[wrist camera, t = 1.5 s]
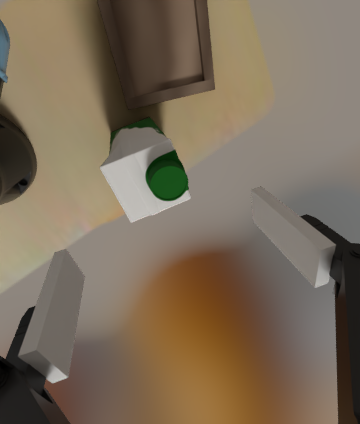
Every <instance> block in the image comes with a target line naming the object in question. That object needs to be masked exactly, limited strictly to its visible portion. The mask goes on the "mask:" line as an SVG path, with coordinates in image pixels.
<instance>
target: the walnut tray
mask: <svg viewBox="0 0 360 424" xmlns="http://www.w3.org/2000/svg"><path fill="white" fill-rule="evenodd" d="M97 1H98V5H99V8H100V12H101V15H102V19H103V23H104V26H105V30H106V33H107V37H108V40H109V44H110V47H111V51H112V54H113V58H114V61H115V65H116V68H117V72H118V75H119V79H120V82H121V86H122V89H123V93H124V96H125V100H126V103H127V107H128V110H129V109H134V108H138V107H142V106H146V105H151V104H155V103H159V102H164V101H168V100H172V99H176V98H181V97H185V96H189V95H193V94H198V93H202V92H206V91H211V90H215V84H214V73H213V62H212V51H211V40H210V29H209V18H208V7H207V0H97Z"/></svg>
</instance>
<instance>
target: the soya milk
mask: <svg viewBox="0 0 360 424" xmlns="http://www.w3.org/2000/svg"><path fill="white" fill-rule="evenodd" d="M100 169H101V171H102V173H103V174H104V176H105V178H106V180H107V181H108V183H109V185H110V187H111V189H112V190H113V192H114V194H115V196H116V197H117V199H118V201H119V203H120V204H121V206H122V208H123V210H124V211H125V213H126V215H127V217H128V219H129V220H130V222H131V223H132V222H134V221H136V220H139V219H141V218H144V217H146V216H149V215H154V214H157V213H159V212H160V211H163V210H165V209H168V208H170V207H172V206H175V205H177V204H179V203H182V202H184V201H186V200H189V199H190V198H191V196H190V193H189V190H188V189H189V188H188V178H187V175H186V173H185V170H184V167H183V165H182V163H181V162H180V160H179V159H178V156H177V153H176V150H175V149H174V147H173V144H172V142H171V139H169V138H166V136H165V135H164V134H163V132H162V131H161V130H160V129H159V127H158V126H157V125H156V124H155V123H154V122H153V120H152V119H151V118H150V117H149V118H146V119H144V120H141V121H138V122H136V123H133V124H130V125H128V126H125V127H123V128H120V129H118V130H116V131H114V132H112V133H111V138H110V152H109V157H108V158H107V159H106V160H105V162H104V163H103V164H102V165H101V167H100Z"/></svg>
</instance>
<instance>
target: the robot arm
mask: <svg viewBox="0 0 360 424" xmlns="http://www.w3.org/2000/svg"><path fill="white" fill-rule="evenodd" d="M9 48H10V38H9V34H8V31H7V29H6V27H5V26H4V24H3V22H2V21H1V20H0V97H1V93H2V88H3V83H4V82H6V83H7V79H8V77H7V75H6V68H7V61H8V55H9ZM36 170H37V162H36V157H35V153H34V151H33V148H32V146H31V144H30V143H29V141H28V139H27V138H26V137H25V135H24V134H23V133H22V132H21V131H20V130H19V129H18V128H17V127H16V126H15V125H14V124H13V123H11V122H10V121H9V120H7V119H6V118H4V117H3V116H1V115H0V205H1V204H4V203H8V202H10V201H13V200H15V199H16V198H18V197H19V196H21V195H22V194H23V193H24V192H25V191H26V190H27V189H28V188H29V186H30V185H31V184H32V182H33V180H34V178H35V175H36ZM251 198H252V216H253V222H254V223H255V224H256V225H257V226H258V227H259V228H260V229H261V230H262V231H263V232H264V233H265V234H266V236H267V237H268V238H269V239H270V240H271V241H272V242H273V243H274V244H275V245H276V246H277V247H278V249H279V250H280V251H281V252H282V253H283V254H284V255H285V256H286V257H287V258H288V259H289V260H290V262H291V263H292V264H293V265H294V266H295V267H296V268H297V269H298V270H299V271H300V272H301V273H302V275H304V277H305V278H306V279H307V280H308V281H309V282H310V283H311V284H312V285H313V286H314V287H315V288H316V287H319V286H321V285H324V284H327V283H328V281H329V276H331V277H332V278H333V279H334V280H335V285H334V290H333V294H335V317H336V318H335V319H336V352H337V354H336V355H337V391H338V424H360V244H355V243H350V242H349V241H347V240H346V239H345V238H343V237H342V236H340V235H339V234H338V233H336V232H335V231H333V230H332V229H331V228H329V227H328V226H327V225H325V224H323V223H322V222H321V221H320V220H318V219H317V218H314V217H312V216H309V215H307V214H306V215H303V216H298V215H297V214H296V213H295V212H293V211H292V210H291V209H289V208H288V207H287V206H286V205H284V204H283V203H282V202H280V201H279V200H278V199H277V198H275V197H274V196H273V195H272V194H270V193H269V192H268V191H266V190H265V189H264V188H262V187H258V188H254V189H252V190H251ZM84 277H85V276H84V274H83V273H82V271H81V270H80V269H79V267H78V265H77V264H76V263H75V261H74V260H73V258H72V257H71V255H70V254H69V252H68V251H67V249H64V250H61V251H58V252H55V253H54V256H53V259H52V262H51V264H50V267H49V270H48V273H47V276H46V279H45V281H44V284H43V287H42V290H41V293H40V295H39V298H38V301H37V304H36V306H34V307H31V308H29V309H28V310H27V311H26V313H25V315H24V316H23V317H22V319H21V321H20V324H19V326H18V329H17V331H16V334H15V337H14V339H13V341H12V344H11V346H10V349H9V351H8V354H7V357H6V359H4V358H3V357H1V356H0V424H70V422H69V421H68V419H67V418H66V417H65V415H64V414H63V412H62V411H61V409H60V408H59V406H58V405H57V404H56V402H55V401H54V399H53V398H52V396H51V395H50V393H49V392H48V391H47V390H46V389H45V388H44V384H45V380H46V379H48V380H49V381H50V382H51V383H55V382H57V381H60V380H63V379H65V378H68V376H69V369H70V363H71V357H72V351H73V345H74V339H75V333H76V327H77V320H78V315H79V309H80V302H81V297H82V290H83V284H84Z"/></svg>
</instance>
